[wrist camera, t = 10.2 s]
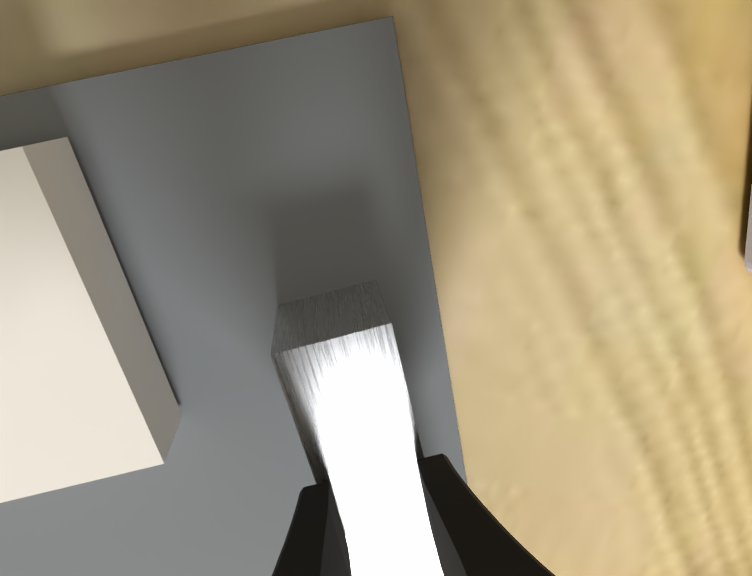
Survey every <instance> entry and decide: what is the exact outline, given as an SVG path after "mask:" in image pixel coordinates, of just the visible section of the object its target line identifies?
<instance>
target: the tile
mask: <svg viewBox="0 0 752 576" xmlns="http://www.w3.org/2000/svg"><path fill="white" fill-rule="evenodd" d="M181 418H182V414H181V411H180V409H179V407H178V404H177V402H176V399H175V397H174V394H173V392H172V390H171V387H170V385H169V382H168V380H167V377H166V375H165V373H164V370H163V368H162V365H161V363H160V360H159V358H158V356H157V353H156V351H155V348H154V346H153V343H152V341H151V339H150V336H149V334H148V331H147V329H146V326H145V324H144V322H143V319H142V317H141V314H140V312H139V309H138V307H137V305H136V302H135V300H134V297H133V295H132V292H131V290H130V288H129V285H128V283H127V280H126V278H125V276H124V273H123V271H122V268H121V266H120V263H119V261H118V259H117V256H116V254H115V251H114V249H113V246H112V244H111V242H110V239H109V237H108V234H107V232H106V229H105V227H104V225H103V222H102V220H101V217H100V215H99V212H98V210H97V208H96V205H95V203H94V200H93V198H92V195H91V193H90V191H89V188H88V186H87V183H86V181H85V178H84V176H83V174H82V171H81V169H80V166H79V164H78V161H77V159H76V157H75V154H74V152H73V149H72V147H71V145H70V142H69V140H68V137H64V138H59V139H55V140H50V141H45V142H40V143H35V144H31V145H26V146H21V147H16V148H11V149H7V150H2V151H0V503H2V502H7V501H11V500H15V499H19V498H23V497H27V496H32V495H36V494H40V493H44V492H48V491H53V490H57V489H61V488H65V487H69V486H73V485H78V484H82V483H86V482H90V481H94V480H98V479H103V478H107V477H111V476H115V475H119V474H124V473H128V472H132V471H136V470H140V469H144V468H149V467H153V466H157V465H161V464H164V463H165V460H166V458H167V455H168V452H169V450H170V447H171V444H172V442H173V439H174V436H175V434H176V431H177V429H178V426H179V423H180V421H181Z"/></svg>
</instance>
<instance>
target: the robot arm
mask: <svg viewBox="0 0 752 576" xmlns="http://www.w3.org/2000/svg"><path fill="white" fill-rule="evenodd" d="M744 261H745V267H746V269H747V270H748V271H749V272H751V273H752V186H751V196H750V207H749V217H748V228H747V239H746V249H745V260H744ZM416 461H417V466H418V471H419V476H420V480H421V485H422V490H423V495H424V500H425V505H426V510H427V515H428V520H429V525H430V528H431V532H432V536H433V540H434V543H435V547H436V551H437V555H438V558H439V562H440V566H441V569H442V572H443V575H444V576H555V575H554V574H553V573H552V572H550V571H549V570H548V569H547V568H546V567H545V566H543V565H542V564H541V563H540V562H539V561H538V560H537V559H536V558H535V557H534V556H533V555H531V554H530V553H529V552H528V551H527V550H526V549H525V548H524V547H523V546H522V545H521V544H520V543H519V542H518V541H517V540H516V539H515V538H514V537H513V536H512V535H511V534H510V533H509V532H508V531H507V530H506V529H505V528H504V527H503V526H502V525H501V524H500V523H499V522H498V520H497V519H496V518H495V517H494V516H493V515H492V514H491V513H490V512H489V510H488V509H487V508H486V507H485V506H484V505H483V504H482V503H481V501H480V500H479V499H478V498H477V497H476V496H475V494H474V493H473V492H472V491H471V489H470V488H469V487H468V486H467V484H466V483H465V482H464V480H463V479H462V478H461V476H460V475H459V474H458V472H457V471H456V470H455V468H454V467H453V465H452V464H451V462H450V460H449V459H448V457H447V456H446V455H444V454H442V453H441V454H437V455H433V456H429V457H425V458H421V459H417V460H416ZM272 576H352V570H351V562H350V555H349V547H348V543H347V539H346V536H345V532H344V529H343V526H342V522H341V519H340V515H339V512H338V509H337V505H336V502H335V498H334V495H333V491H332V488H331V485H330V481H327V482H323V483H319V484H314V485H310V486H306V487H303V488H302V490H301V491H300V493H299V497H298V501H297V505H296V508H295V512H294V515H293V518H292V521H291V524H290V527H289V530H288V533H287V536H286V539H285V542H284V545H283V547H282V550H281V552H280V555H279V558H278V560H277V563H276V566H275V568H274V571H273V573H272Z"/></svg>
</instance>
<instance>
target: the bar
mask: <svg viewBox="0 0 752 576" xmlns="http://www.w3.org/2000/svg"><path fill="white" fill-rule="evenodd" d="M270 355H271V358H272V361H273V364H274V367H275V369H276V372H277V375H278V378H279V381H280V383H281V386H282V389H283V392H284V395H285V397H286V400H287V403H288V406H289V409H290V412H291V414H292V417H293V420H294V423H295V426H296V428H297V431H298V434H299V437H300V440H301V442H302V445H303V448H304V451H305V454H306V456H307V459H308V462H309V465H310V468H311V470H312V473H313V476H314V479H315V482H316V484H319V483H323V482H327V481H330V485H331V488H332V491H333V495H334V498H335V502H336V505H337V509H338V512H339V515H340V519H341V522H342V526H343V529H344V532H345V536H346V539H347V543H348V547H349V555H350V562H351V570H352V576H444V575H443V572H442V569H441V566H440V562H439V558H438V555H437V551H436V547H435V543H434V540H433V536H432V532H431V528H430V525H429V520H428V515H427V510H426V505H425V500H424V495H423V490H422V485H421V480H420V476H419V471H418V466H417V461H416V460H417V459H421V458H424V455H423V451H422V447H421V443H420V439H419V435H418V430H417V426H416V422H415V418H414V414H413V410H412V406H411V402H410V397H409V393H408V389H407V385H406V381H405V377H404V373H403V369H402V364H401V360H400V356H399V352H398V348H397V344H396V340H395V336H394V331H393V327H392V323H391V320H390V318H389V315H388V312H387V309H386V306H385V304H384V301H383V298H382V295H381V293H380V290H379V287H378V284H377V281H376V280H373V281H369V282H365V283H361V284H357V285H353V286H350V287H346V288H342V289H338V290H334V291H331V292H327V293H323V294H319V295H315V296H311V297H308V298H304V299H300V300H296V301H292V302H288V303H285V304H281V305H277V309H276V317H275V324H274V332H273V339H272V347H271V354H270Z"/></svg>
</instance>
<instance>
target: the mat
mask: <svg viewBox="0 0 752 576" xmlns="http://www.w3.org/2000/svg"><path fill="white" fill-rule="evenodd" d="M64 137H68V140H69V142H70V145H71V147H72V149H73V152H74V154H75V157H76V159H77V161H78V164H79V166H80V169H81V171H82V174H83V176H84V178H85V181H86V183H87V186H88V188H89V191H90V193H91V195H92V198H93V200H94V203H95V205H96V208H97V210H98V212H99V215H100V217H101V220H102V222H103V225H104V227H105V229H106V232H107V234H108V237H109V239H110V242H111V244H112V246H113V249H114V251H115V254H116V256H117V259H118V261H119V263H120V266H121V268H122V271H123V273H124V276H125V278H126V280H127V283H128V285H129V288H130V290H131V292H132V295H133V297H134V300H135V302H136V305H137V307H138V309H139V312H140V314H141V317H142V319H143V322H144V324H145V326H146V329H147V331H148V334H149V336H150V339H151V341H152V343H153V346H154V348H155V351H156V353H157V356H158V358H159V360H160V363H161V365H162V368H163V370H164V373H165V375H166V377H167V380H168V382H169V385H170V387H171V390H172V392H173V394H174V397H175V399H176V402H177V404H178V407H179V409H180V411H181V414H182V418H181V421H180V423H179V426H178V429H177V431H176V434H175V436H174V439H173V442H172V444H171V447H170V450H169V452H168V455H167V458H166V460H165V463H164V464H161V465H157V466H153V467H149V468H144V469H140V470H136V471H132V472H128V473H124V474H119V475H115V476H111V477H107V478H103V479H98V480H94V481H90V482H86V483H82V484H78V485H73V486H69V487H65V488H61V489H57V490H53V491H48V492H44V493H40V494H36V495H32V496H27V497H23V498H19V499H15V500H11V501H7V502H2V503H0V576H272V573H273V571H274V568H275V566H276V563H277V560H278V558H279V555H280V552H281V550H282V547H283V545H284V542H285V539H286V536H287V533H288V530H289V527H290V524H291V521H292V518H293V515H294V512H295V508H296V505H297V501H298V497H299V493H300V491H301V490H302V488H303V487H306V486H310V485H314V484H316V482H315V479H314V476H313V473H312V470H311V468H310V465H309V462H308V459H307V456H306V454H305V451H304V448H303V445H302V442H301V440H300V437H299V434H298V431H297V428H296V426H295V423H294V420H293V417H292V414H291V412H290V409H289V406H288V403H287V400H286V397H285V395H284V392H283V389H282V386H281V383H280V381H279V378H278V375H277V372H276V369H275V367H274V364H273V361H272V358H271V355H270V354H271V347H272V339H273V332H274V324H275V317H276V309H277V305H281V304H285V303H288V302H292V301H296V300H300V299H304V298H308V297H311V296H315V295H319V294H323V293H327V292H331V291H334V290H338V289H342V288H346V287H350V286H353V285H357V284H361V283H365V282H369V281H373V280H376V281H377V284H378V287H379V290H380V293H381V295H382V298H383V301H384V304H385V306H386V309H387V312H388V315H389V318H390V320H391V323H392V327H393V331H394V336H395V340H396V344H397V348H398V352H399V356H400V360H401V364H402V369H403V373H404V377H405V381H406V385H407V389H408V393H409V397H410V402H411V406H412V410H413V414H414V418H415V422H416V426H417V430H418V435H419V439H420V443H421V447H422V451H423V455H424V458H425V457H429V456H433V455H437V454H441V453H442V454H444V455H446V456H447V457H448V459H449V460H450V462H451V464H452V465H453V467H454V468H455V470H456V471H457V472H458V474H459V475H460V476H461V478H462V479H463V480H464V482H465V483H466V484H467V481H466V475H465V469H464V463H463V456H462V450H461V444H460V437H459V431H458V425H457V418H456V412H455V406H454V400H453V393H452V387H451V381H450V374H449V368H448V362H447V355H446V349H445V343H444V337H443V330H442V324H441V318H440V311H439V305H438V299H437V292H436V286H435V280H434V273H433V267H432V261H431V255H430V248H429V242H428V236H427V229H426V223H425V217H424V210H423V204H422V198H421V192H420V185H419V179H418V173H417V166H416V160H415V154H414V147H413V141H412V135H411V128H410V122H409V116H408V110H407V103H406V97H405V91H404V84H403V78H402V72H401V65H400V59H399V53H398V47H397V40H396V34H395V28H394V21H393V16H391V17H386V18H381V19H376V20H371V21H366V22H362V23H357V24H352V25H347V26H342V27H337V28H332V29H327V30H322V31H317V32H312V33H307V34H303V35H298V36H293V37H288V38H283V39H278V40H273V41H268V42H263V43H258V44H253V45H249V46H244V47H239V48H234V49H229V50H224V51H219V52H214V53H209V54H204V55H199V56H194V57H190V58H185V59H180V60H175V61H170V62H165V63H160V64H155V65H150V66H145V67H140V68H135V69H131V70H126V71H121V72H116V73H111V74H106V75H101V76H96V77H91V78H86V79H81V80H77V81H72V82H67V83H62V84H57V85H52V86H47V87H42V88H37V89H32V90H27V91H22V92H18V93H13V94H8V95H3V96H0V151H2V150H7V149H11V148H16V147H21V146H26V145H31V144H35V143H40V142H45V141H50V140H55V139H59V138H64Z"/></svg>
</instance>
